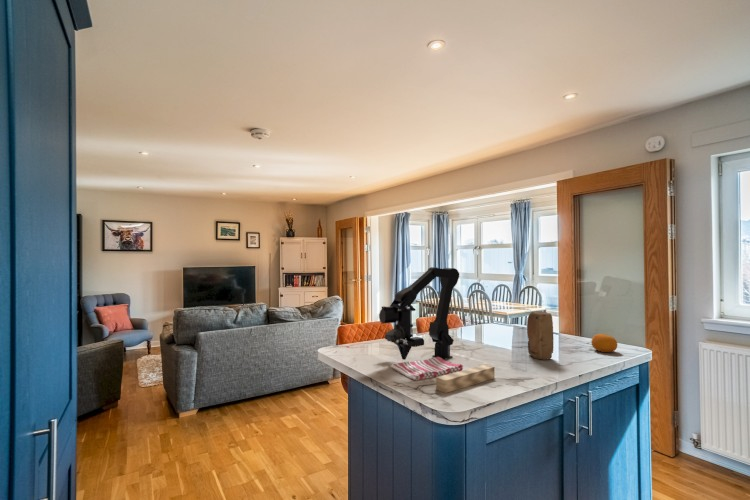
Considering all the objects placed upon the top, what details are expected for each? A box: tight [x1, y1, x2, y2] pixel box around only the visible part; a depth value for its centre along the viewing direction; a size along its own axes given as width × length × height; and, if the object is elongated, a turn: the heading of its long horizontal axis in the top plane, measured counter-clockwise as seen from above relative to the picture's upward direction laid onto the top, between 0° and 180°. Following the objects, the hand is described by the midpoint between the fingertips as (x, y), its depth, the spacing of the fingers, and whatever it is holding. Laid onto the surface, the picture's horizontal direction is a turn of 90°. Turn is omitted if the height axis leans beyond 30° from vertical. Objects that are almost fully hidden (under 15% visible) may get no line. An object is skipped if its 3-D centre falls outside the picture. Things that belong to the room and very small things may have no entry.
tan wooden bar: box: [435, 364, 496, 394], centre depth 130 cm, size 26×4×4 cm, turn 127°
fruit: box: [591, 333, 618, 353], centre depth 177 cm, size 10×10×8 cm
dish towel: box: [391, 357, 464, 381], centre depth 146 cm, size 17×23×4 cm
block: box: [526, 310, 554, 361], centre depth 166 cm, size 11×8×20 cm
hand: (403, 359), depth 157 cm, fingers closed
